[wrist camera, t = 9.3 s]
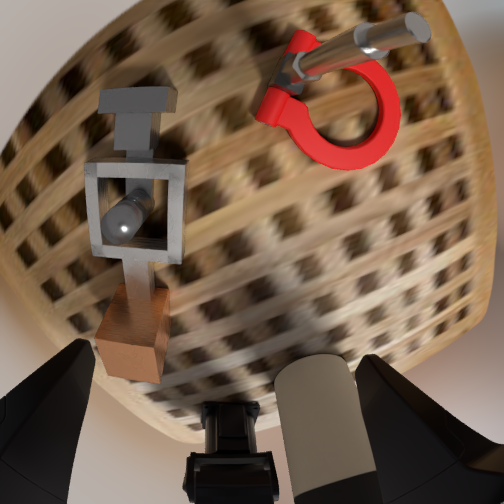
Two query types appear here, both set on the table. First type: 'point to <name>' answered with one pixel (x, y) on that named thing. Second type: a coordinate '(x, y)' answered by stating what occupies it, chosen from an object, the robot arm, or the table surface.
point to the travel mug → (325, 433)
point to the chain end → (137, 269)
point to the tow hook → (334, 58)
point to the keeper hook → (134, 151)
